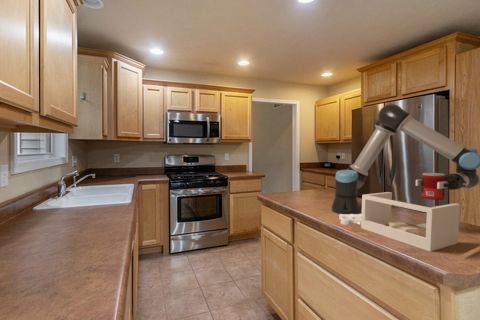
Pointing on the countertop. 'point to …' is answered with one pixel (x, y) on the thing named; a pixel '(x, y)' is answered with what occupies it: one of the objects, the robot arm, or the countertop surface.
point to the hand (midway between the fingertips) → (427, 184)
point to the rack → (437, 232)
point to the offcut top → (404, 227)
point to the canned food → (432, 186)
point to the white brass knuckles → (350, 218)
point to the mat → (422, 225)
